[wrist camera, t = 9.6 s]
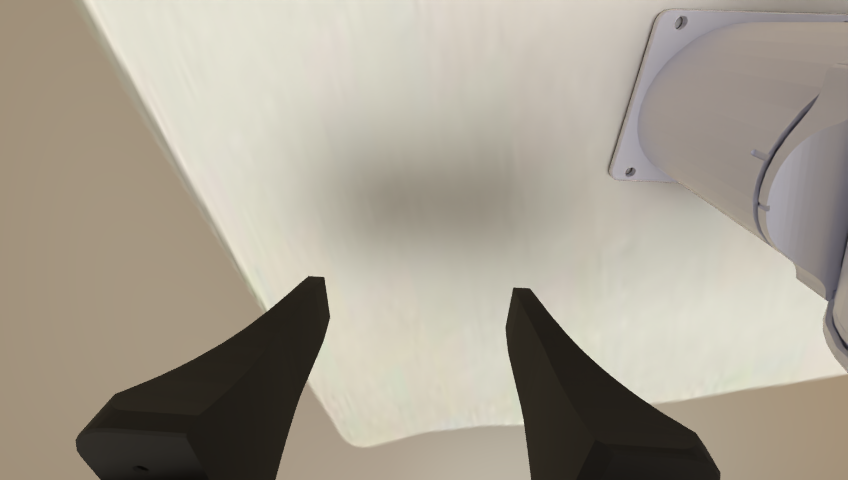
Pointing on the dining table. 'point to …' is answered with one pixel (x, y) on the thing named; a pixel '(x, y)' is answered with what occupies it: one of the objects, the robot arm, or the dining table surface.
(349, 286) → the dining table surface
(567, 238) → the dining table surface
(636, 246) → the dining table surface
